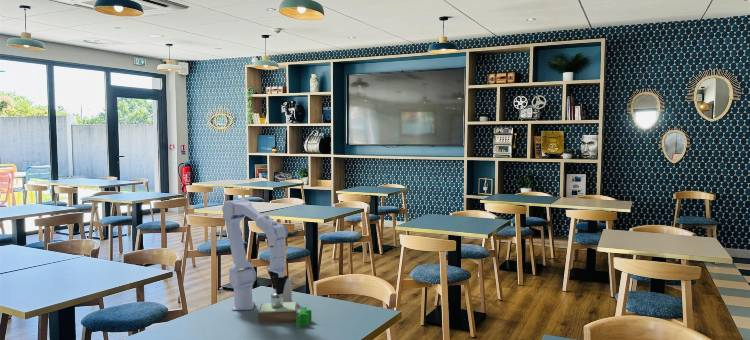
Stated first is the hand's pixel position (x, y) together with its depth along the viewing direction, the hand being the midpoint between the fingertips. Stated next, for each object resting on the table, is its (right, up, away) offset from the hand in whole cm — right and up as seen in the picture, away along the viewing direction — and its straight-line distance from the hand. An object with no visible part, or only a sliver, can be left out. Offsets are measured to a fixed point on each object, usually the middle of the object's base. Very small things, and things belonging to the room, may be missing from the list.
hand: (277, 291), depth 205 cm
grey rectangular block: (-1, -9, +20) cm, 22 cm away
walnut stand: (0, -10, +1) cm, 10 cm away
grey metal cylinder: (0, -6, 0) cm, 6 cm away
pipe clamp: (+11, -11, -5) cm, 16 cm away
